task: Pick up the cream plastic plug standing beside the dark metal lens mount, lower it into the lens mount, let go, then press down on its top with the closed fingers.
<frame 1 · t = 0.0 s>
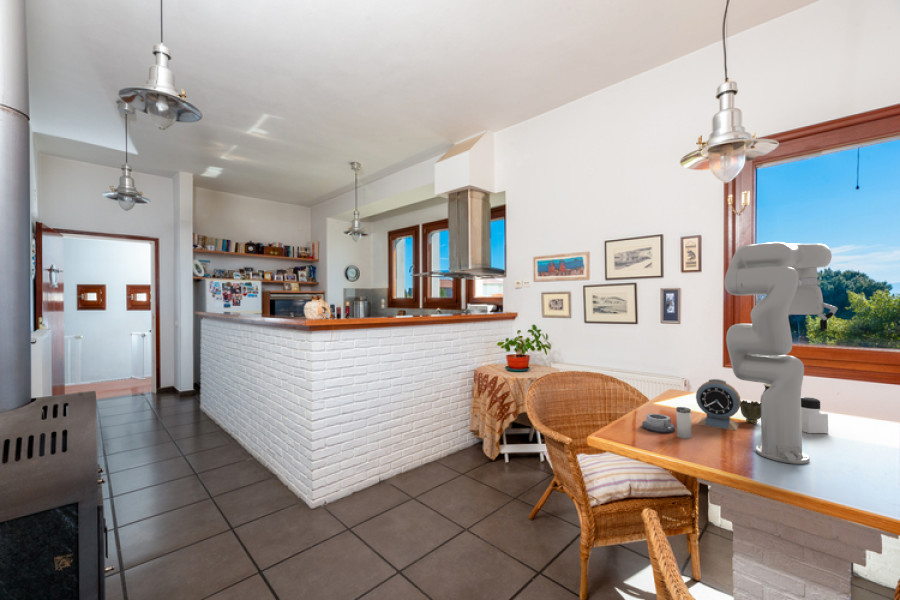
hand: (804, 330, 137), 37 cm above the table, tool pointing down, fingers open, 9 cm apart
cap plug: (684, 436, 136), on the table
lens mount: (658, 428, 145), on the table
cup: (751, 423, 150), on the table
alarm clock: (718, 424, 148), on the table
travel mug: (778, 435, 136), on the table
medicine bottle: (809, 431, 140), on the table
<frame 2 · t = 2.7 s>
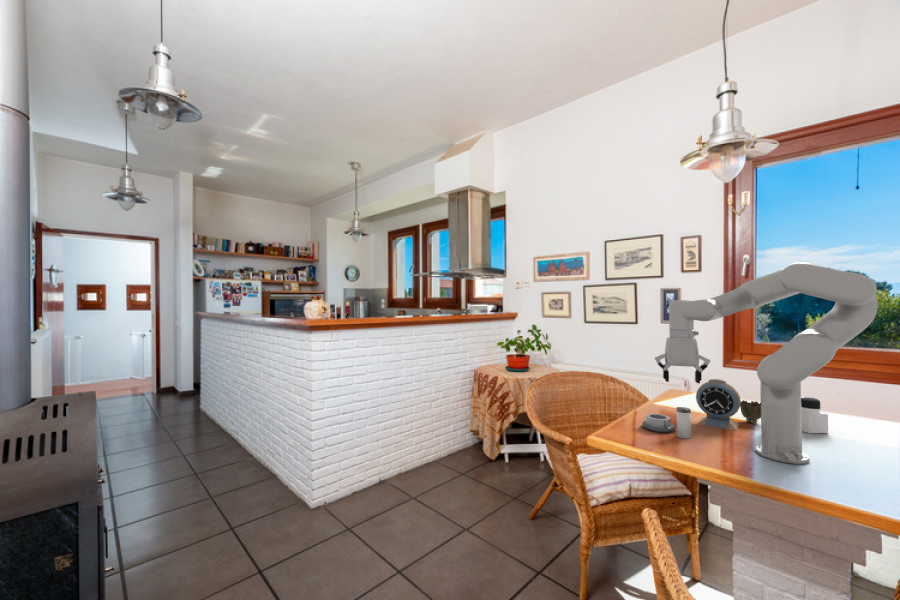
hand: (682, 381, 136), 20 cm above the table, tool pointing down, fingers open, 9 cm apart
nothing on the table moved.
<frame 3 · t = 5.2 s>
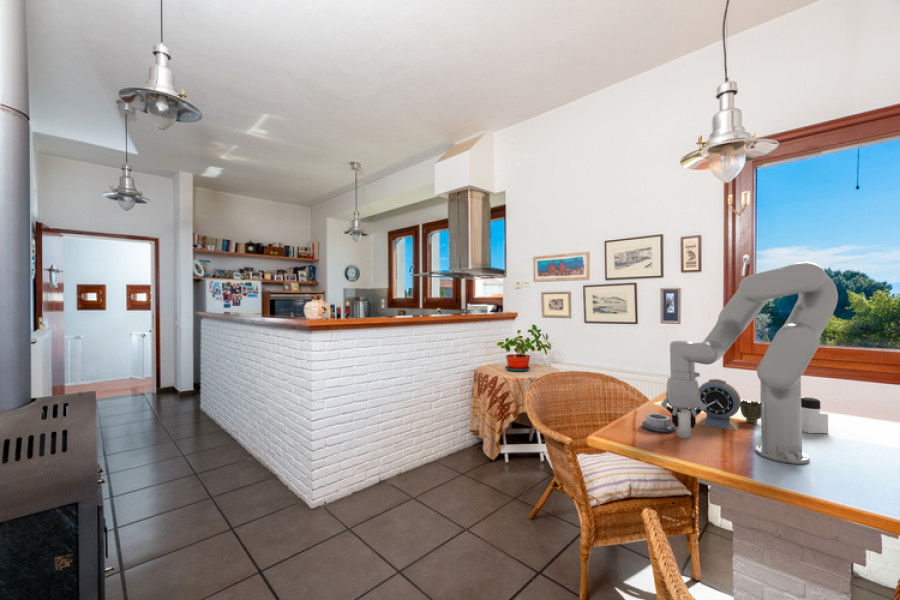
hand: (683, 425, 136), 4 cm above the table, tool pointing down, fingers closed on cap plug, 4 cm apart
cap plug: (684, 436, 136), on the table, touching gripper
everything else where it was.
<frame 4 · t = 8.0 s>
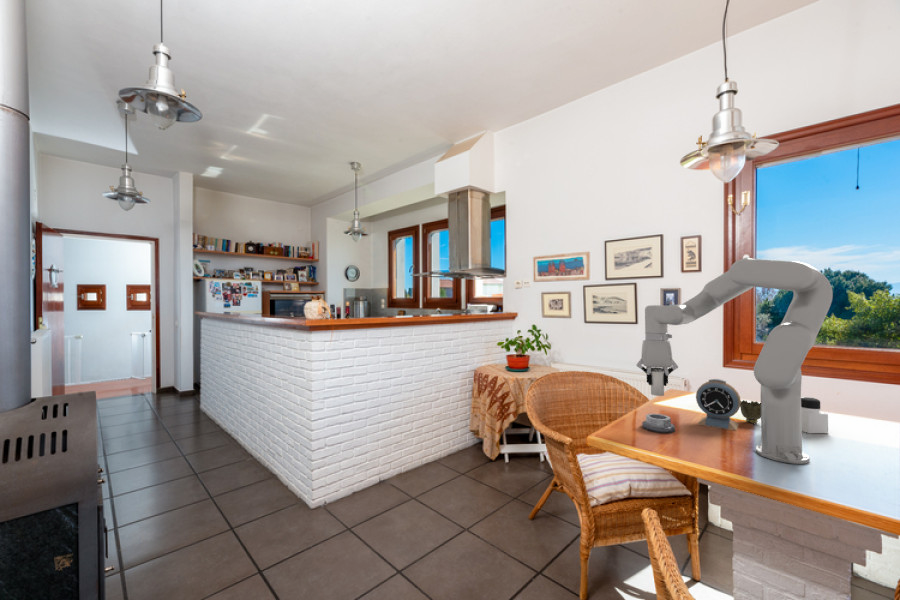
hand: (657, 384, 145), 17 cm above the table, tool pointing down, fingers closed on cap plug, 4 cm apart
cap plug: (657, 394, 145), point 13 cm above the table, touching gripper
everything else where it was.
when the fingers open (6 cm above the table, at t = 11.0 s): cap plug stays where it is, resting on lens mount.
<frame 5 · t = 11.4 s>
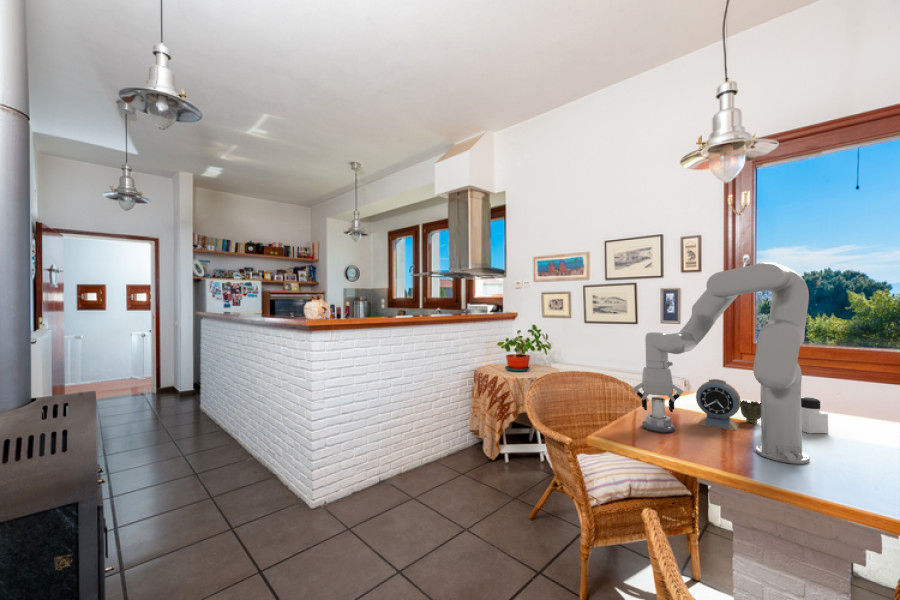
hand: (658, 410, 145), 7 cm above the table, tool pointing down, fingers open, 8 cm apart
cap plug: (658, 424, 145), point 2 cm above the table, touching lens mount
everything else where it was.
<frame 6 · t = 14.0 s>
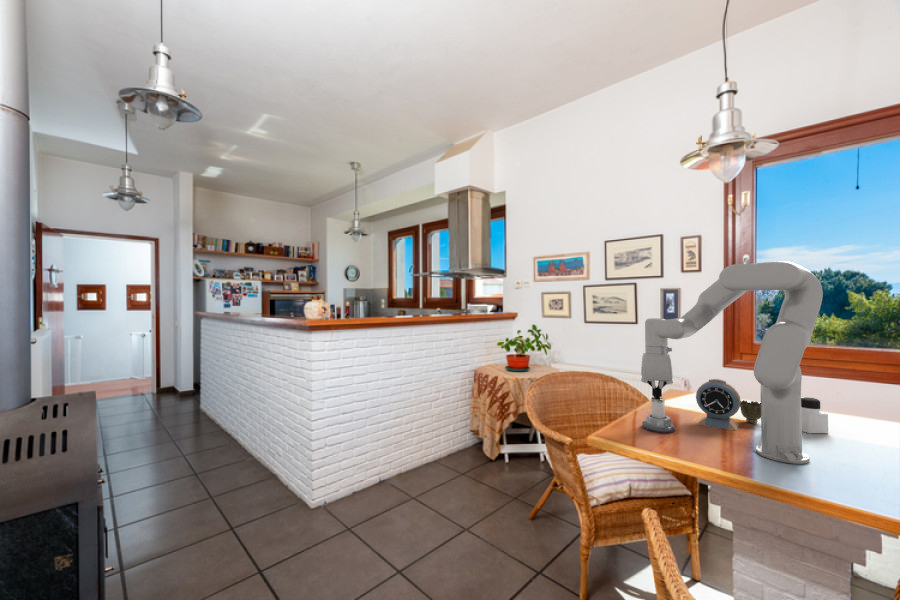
hand: (657, 398, 145), 12 cm above the table, tool pointing down, fingers closed
cap plug: (658, 424, 145), point 2 cm above the table, touching gripper, lens mount
everything else where it was.
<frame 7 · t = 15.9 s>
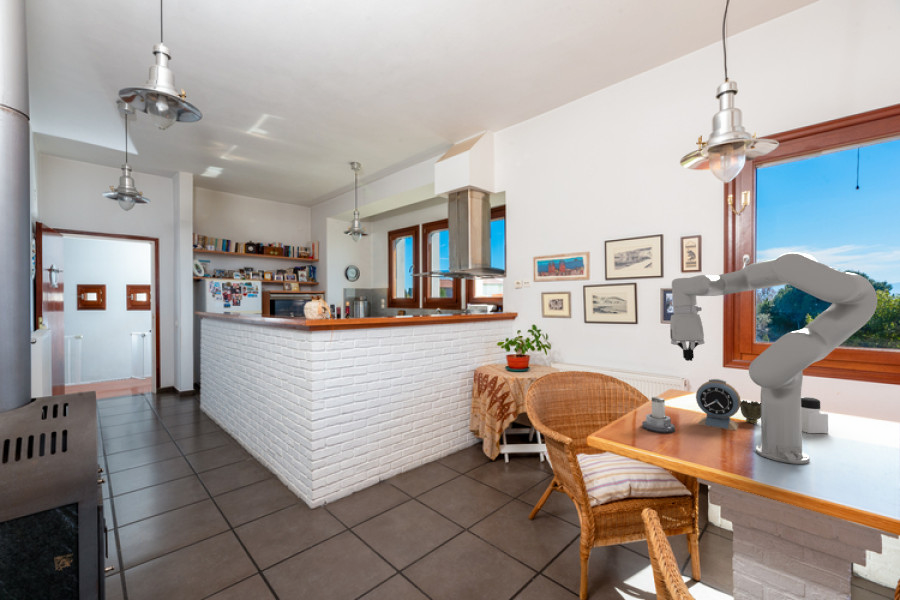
hand: (688, 360, 140), 27 cm above the table, tool pointing down, fingers closed
cap plug: (658, 424, 145), point 2 cm above the table, touching lens mount
everything else where it was.
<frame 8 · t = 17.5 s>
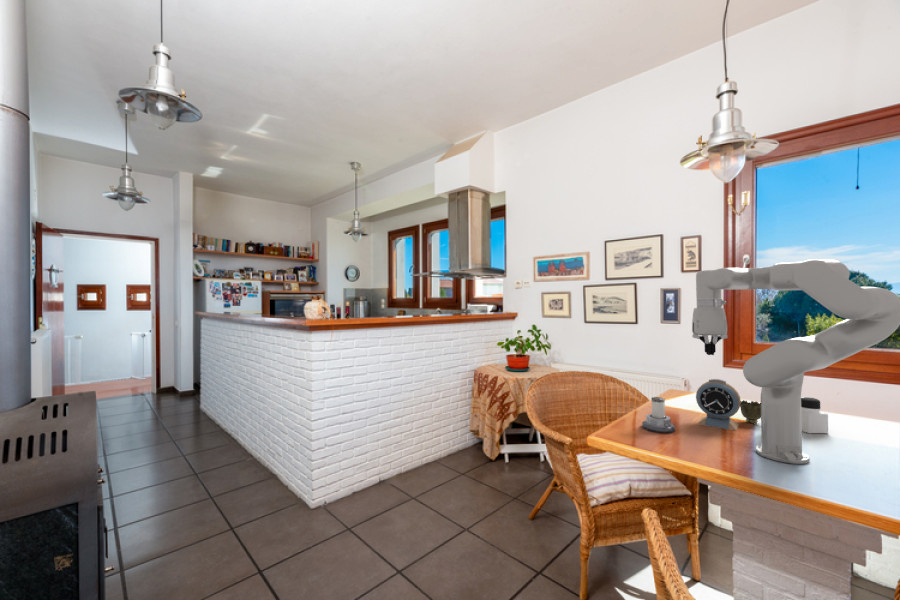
hand: (710, 354, 137), 29 cm above the table, tool pointing down, fingers closed
nothing on the table moved.
at the end: cap plug 0.1 cm off-centre on the lens mount, point 1.5 cm above the lens mount's base; cap plug tilted 0°; the gripper is holding nothing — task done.
